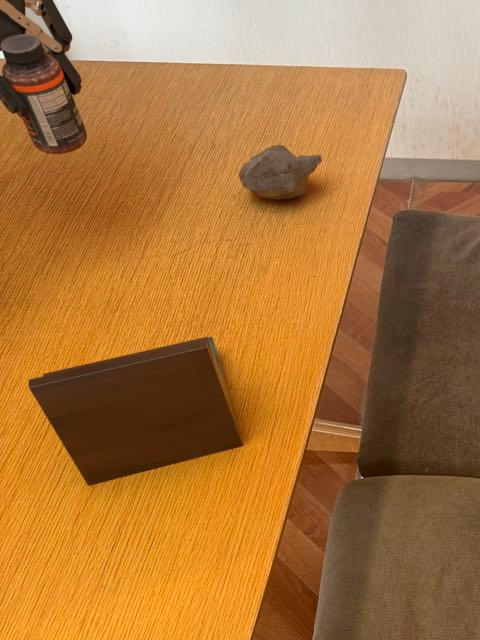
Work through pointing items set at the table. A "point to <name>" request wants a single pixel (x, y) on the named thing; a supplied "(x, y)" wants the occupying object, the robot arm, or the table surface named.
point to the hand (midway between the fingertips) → (51, 101)
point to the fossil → (278, 173)
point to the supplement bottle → (43, 95)
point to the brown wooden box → (140, 409)
